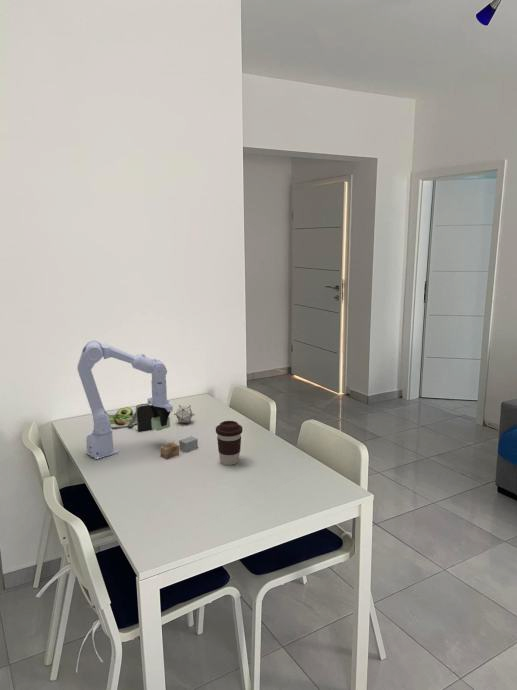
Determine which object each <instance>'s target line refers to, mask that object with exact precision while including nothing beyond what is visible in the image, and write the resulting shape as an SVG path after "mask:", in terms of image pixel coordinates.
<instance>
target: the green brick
mask: <svg viewBox="0 0 517 690" xmlns="http://www.w3.org/2000/svg"><path fill="white" fill-rule="evenodd" d="M170 419H171V417H170V416H169V417H168V420H167V425H166V426H161V422H160V417H156V418H152V419H151V423H152V429H151V430H155V431H157V432H159V431H162V430H165V429H168V428H170V427H171V420H170Z"/></svg>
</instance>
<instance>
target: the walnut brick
mask: <svg viewBox="0 0 517 690" xmlns="http://www.w3.org/2000/svg"><path fill="white" fill-rule="evenodd" d="M159 452H160V457H161V458H164V459H165V460H169V459H171V458H175V457H177V456H180V448H179V444H177V443H175V442H171V443H168V444H164V445H162V446H159ZM174 456H175V457H174Z"/></svg>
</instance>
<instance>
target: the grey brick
mask: <svg viewBox="0 0 517 690" xmlns="http://www.w3.org/2000/svg"><path fill="white" fill-rule="evenodd" d="M178 443H179V444H178V445H179V451H182V452H184V453H188V452H190V450H191V451H193V449H194V450H196V448H197V449H198V448H199V445H198V438H196V437H194V436H192V435H191V436H189V437H185V438H182V439H180V440H179V442H178Z"/></svg>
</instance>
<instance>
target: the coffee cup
mask: <svg viewBox="0 0 517 690" xmlns="http://www.w3.org/2000/svg"><path fill="white" fill-rule="evenodd" d="M242 433H243V426H242V425H241V424H239V423H238V421H235V420H225V421H221V422H220V423H219V424H218V425H216V427H215V434H217V438H216V439H217V451H218V454H219V461H220V463H221V464H223V465H227V466H232V465H236V464H238V462H239V461H240V452H241V448H242V447H241V445H242Z"/></svg>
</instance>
